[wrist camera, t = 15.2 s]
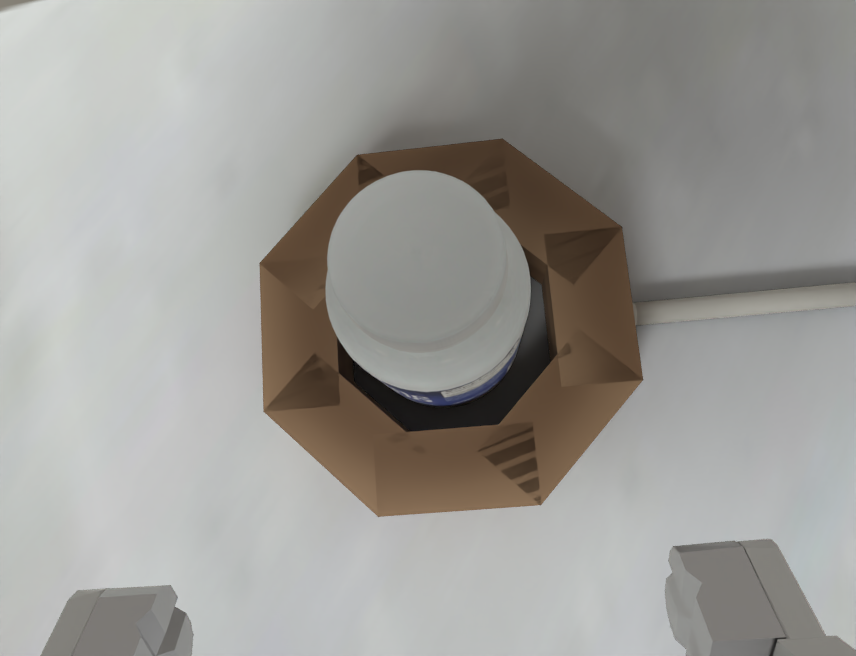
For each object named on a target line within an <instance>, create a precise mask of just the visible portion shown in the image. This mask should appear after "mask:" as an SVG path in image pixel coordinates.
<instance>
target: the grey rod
mask: <svg viewBox="0 0 856 656" xmlns="http://www.w3.org/2000/svg"><path fill="white" fill-rule="evenodd" d="M632 304H633V311H634V318H635V325H636V326H637V325H648V324H659V323H671V322H682V321H693V320H704V319H715V318H727V317H738V316H749V315H760V314H771V313H783V312H794V311H805V310H816V309H827V308H838V307H850V306H856V282H852V283H842V284H831V285H820V286H809V287H798V288H787V289H776V290H765V291H754V292H744V293H733V294H722V295H711V296H700V297H689V298H678V299H667V300H657V301H646V302H635V303H632Z"/></svg>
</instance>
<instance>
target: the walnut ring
mask: <svg viewBox="0 0 856 656" xmlns="http://www.w3.org/2000/svg"><path fill="white" fill-rule="evenodd" d="M412 170H427V171H436V172H439V173H443V174H446V175H450V176H453V177H455V178H457V179H459V180H461V181H463V182H465V183H467V184H468V185H470V186H471V187H472V188H474V189H475V190H476V191H477V192H478V193H479V194H480V195H481V196H482V197H483V198H484V199H485V200H486V201H487V202H488V204H489V205H490V206H491V207H492V209H493V210H494V212H495V213H496V214H497V215H498V216H499V217H500V218H502V219H503V221H504V222H505V223H506V224H507V225H508V226H509V227H510V229H511V230H512V232H513V233H514V235H515V236H516V238H517V239H518V241H519V243H520V245H521V247H522V249H523V251H524V254H525V257H526V260H527V263H528V267H529V272H530V276H531V277H532V278H534V279H535V280H536V281H537V282H539V283H540V284H541V285H542V292H543V301H544V310H545V319H546V328H547V337H548V346H549V355H550V364H549V365H548V366H547V367H546V368H545V370H544V371H543V372H542V373H541V374H540V376H539V377H538V378H537V379H536V380H535V382H534V383H533V384H532V385H531V386H530V388H529V389H528V390H527V391H526V392H525V394H524V395H523V396H522V397H521V398H520V400H519V401H518V402H517V403H516V404H515V406H514V407H513V408H512V409H511V410H510V412H509V413H508V414H507V415H506V416H505V418H504V419H503V420H502V421H501V422H500V424H499V425H487V426H474V427H462V428H449V429H437V430H424V431H412V432H411V431H410V430H408V429H407V428H406V427H405V426H404V425H403V424H402V423H400V422H399V421H398V420H397V419H396V418H395V417H394V416H392V415H391V414H390V413H389V412H388V411H387V410H386V409H384V408H383V407H382V406H381V405H380V404H379V403H378V402H376V401H375V400H374V399H373V398H372V397H371V396H370V395H368V394H367V393H366V392H365V391H364V390H363V389H362V388H360V387H359V386H358V385H357V384H356V383H355V382H354V376H353V359H352V358H351V357H350V356H349V354H348V353H347V351H346V350H345V348H344V347H343V345H342V344H341V342H340V341H339V339H338V337H337V336H336V333H335V331H334V329H333V327H332V324H331V321H330V318H329V314H328V310H327V305H326V290H325V287H326V277H327V271H328V267H327V254H328V245H329V241H330V237H331V233H332V230H333V228H334V226H335V223H336V221H337V219H338V217H339V216H340V214H341V212H342V211H343V210H344V208H345V207H346V206H347V204H348V203H349V202H350V201H351V200H352V199H353V198H354V197H355V196H356V195H357V194H358V193H359V192H360V191H362V190H363V189H364V188H366V187H367V186H369V185H370V184H372V183H374V182H375V181H377V180H379V179H382V178H384V177H386V176H389V175H392V174H395V173H399V172H404V171H412ZM259 264H260V293H261V331H262V368H263V406H264V412H265V413H266V414H267V415H268V416H269V417H270V418H271V419H272V420H273V421H275V422H276V423H277V424H278V425H279V426H280V427H281V428H282V429H283V430H284V431H285V432H287V433H288V434H289V435H290V436H291V437H292V438H293V439H294V440H295V441H296V442H297V443H299V444H300V445H301V446H302V447H303V448H304V449H305V450H306V451H307V452H308V453H309V454H310V455H312V456H313V457H314V458H315V459H316V460H317V461H318V462H319V463H320V464H321V465H322V466H324V467H325V468H326V469H327V470H328V471H329V472H330V473H331V474H332V475H333V476H334V477H336V478H337V479H338V480H339V481H340V482H341V483H342V484H343V485H344V486H345V487H346V488H348V489H349V490H350V491H351V492H352V493H353V494H354V495H355V496H356V497H357V498H358V499H359V500H361V501H362V502H363V503H364V504H365V505H366V506H367V507H368V508H369V509H370V510H371V511H373V512H374V513H375V514H376V515H377V516H378V517H380V516H394V515H408V514H422V513H436V512H450V511H464V510H478V509H492V508H506V507H520V506H534V505H541V504H542V503H543V502H544V501H545V499H546V498H547V497H548V496H549V494H550V493H551V492H552V491H553V490H554V488H555V487H556V486H557V485H558V483H559V482H560V481H561V480H562V479H563V477H564V476H565V475H566V474H567V472H568V471H569V470H570V469H571V467H572V466H573V465H574V464H575V463H576V461H577V460H578V459H579V458H580V456H581V455H582V454H583V453H584V452H585V450H586V449H587V448H588V447H589V445H590V444H591V443H592V442H593V440H594V439H595V438H596V437H597V436H598V434H599V433H600V432H601V431H602V429H603V428H604V427H605V426H606V425H607V423H608V422H609V421H610V420H611V418H612V417H613V416H614V415H615V414H616V412H617V411H618V410H619V409H620V407H621V406H622V405H623V404H624V402H625V401H626V400H627V399H628V398H629V396H630V395H631V394H632V393H633V391H634V390H635V389H636V388H637V387H638V385H639V384H640V383H641V382H642V380H643V376H642V369H641V361H640V354H639V347H638V340H637V333H636V325H635V318H634V311H633V304H632V297H631V289H630V282H629V275H628V268H627V260H626V253H625V246H624V239H623V232H622V227H621V226H620V225H619V224H617V223H616V222H615V221H613V220H612V219H610V218H609V217H608V216H606V215H605V214H604V213H602V212H601V211H600V210H598V209H597V208H596V207H594V206H593V205H592V204H590V203H589V202H587V201H586V200H585V199H583V198H582V197H581V196H579V195H578V194H577V193H575V192H574V191H573V190H571V189H570V188H569V187H567V186H566V185H564V184H563V183H562V182H560V181H559V180H558V179H556V178H555V177H554V176H552V175H551V174H550V173H548V172H547V171H545V170H544V169H543V168H541V167H540V166H539V165H537V164H536V163H535V162H533V161H532V160H531V159H529V158H528V157H527V156H525V155H524V154H522V153H521V152H520V151H518V150H517V149H516V148H514V147H513V146H512V145H510V144H509V143H508V142H506V141H505V140H504V139H496V140H487V141H478V142H469V143H460V144H451V145H442V146H433V147H424V148H415V149H406V150H397V151H388V152H378V153H369V154H360V155H357V156H356V157H355V158H354V159H353V160H352V161H351V162H350V163H349V164H348V166H347V167H346V168H345V169H344V170H343V171H342V172H341V173H340V174H339V176H338V177H337V178H336V179H335V180H334V181H333V182H332V183H331V184H330V186H329V187H328V188H327V189H326V190H325V191H324V192H323V193H322V194H321V196H320V197H319V198H318V199H317V200H316V201H315V202H314V203H313V204H312V206H311V207H310V208H309V209H308V210H307V211H306V212H305V213H304V214H303V216H302V217H301V218H300V219H299V220H298V221H297V222H296V223H295V224H294V226H293V227H292V228H291V229H290V230H289V231H288V232H287V233H286V234H285V236H284V237H283V238H282V239H281V240H280V241H279V242H278V243H277V244H276V246H275V247H274V248H273V249H272V250H271V251H270V252H269V253H268V254H267V256H266V257H265V258H264V259H263V260H262V261H261V262H260V263H259Z"/></svg>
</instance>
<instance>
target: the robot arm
mask: <svg viewBox="0 0 856 656" xmlns="http://www.w3.org/2000/svg"><path fill="white" fill-rule="evenodd" d="M668 561H669V564H670V567H671V570H672V574H671V575H669V576H668V577H667V578H666V584H665V599H666V609H667V614H668V618H669V622H670V626H671V629H672V632H673V635H674V638H675V640H676V641H678V642H679V643H680V644H681V645H682V646H683V647H684V648H685V649H687V650H686V656H856V650H855V649H854V648H852V647H851V646H850V645H848V644H847V643H846V642H844V641H843V640H842V639H840V638H839V637H838V636H826V634H825V632H824V631H823V629H822V627H821V625H820V623H819V621H818V619H817V618H816V616H815V614H814V612H813V610H812V608H811V606H810V605H809V603H808V601H807V599H806V597H805V595H804V593H803V591H802V590H801V588H800V586H799V584H798V582H797V580H796V578H795V577H794V575H793V573H792V571H791V569H790V567H789V565H788V563H787V562H786V560H785V558H784V556H783V554H782V552H781V550H780V549H779V547H778V545H777V544H776V543H775V542H774V541H773V540H772V539H759V540H749V541H739V542H736V541H725V542H714V543H703V544H692V545H681V546H673V547H672V548H671V550H670V553H669V560H668ZM177 598H178V596H177V595H176V593H175V592H174V590H173V588H172V587H171V585H162V586H145V587H127V588H106V589H92V590H78V591H77V592H76V593H75V594H74V595H73V596H72V597H71V598H70V599H69V600H68V601H67V603H66V605H65V607H64V609H63V611H62V613H61V615H60V617H59V619H58V621H57V623H56V625H55V627H54V629H53V631H52V633H51V635H50V637H49V639H48V641H47V643H46V645H45V647H44V649H43V651H42V654H41V656H191V655H192V646H193V631H192V626H191V622H190V620H189V618H188V616H187V614H186V613H185V612H183V611H182V610H180V609H178V608H176V607H175V604H176V601H177Z"/></svg>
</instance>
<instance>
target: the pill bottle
mask: <svg viewBox="0 0 856 656" xmlns="http://www.w3.org/2000/svg"><path fill="white" fill-rule="evenodd" d="M327 267H328V271H327V277H326V287H325V290H326V305H327V310H328V314H329V318H330V321H331V324H332V327H333V329H334V331H335V333H336V336H337V337H338V339H339V341H340V342H341V344H342V345H343V347H344V348H345V350H346V351H347V353H348V354H349V356H350V357H351V358H352V359H353V360H354V361H355V362H356V363H357V364H358V365H359V366H361V367H362V368H363V369H364V370H365V371H367V372H368V373H369V374H371V375H372V376H374V377H375V378H377V379H378V380H380V381H381V382H382V383H384V384H385V385H386V386H388V387H389V388H391V389H392V390H394V391H395V392H397V393H398V394H400V395H401V396H403V397H405V398H407V399H409V400H411V401H413V402H416V403H418V404H421V405H425V406H430V407H441V408H447V407H455V406H460V405H465V404H468V403H470V402H473V401H475V400H477V399H479V398H481V397H483V396H484V395H486V394H487V393H488V392H490V391H491V390H492V389H494V388H495V387H496V386H497V385H498V384H499V383H500V382H501V380H502V379H503V378H504V376H505V375H506V374H507V372H508V371H509V369H510V367H511V365H512V363H513V361H514V359H515V357H516V355H517V351H518V348H519V344H520V340H521V337H522V334H523V331H524V327H525V323H526V320H527V317H528V313H529V308H530V298H531V280H530V272H529V267H528V263H527V260H526V257H525V254H524V251H523V249H522V247H521V245H520V243H519V241H518V239H517V238H516V236H515V235H514V233H513V232H512V230H511V229H510V227H509V226H508V225H507V224H506V223H505V222H504V221H503V219H502V218H500V217H499V216H498V215H497V214H496V213H495V212H494V210H493V209H492V207H491V206H490V205H489V204H488V202H487V201H486V200H485V199H484V198H483V197H482V196H481V195H480V194H479V193H478V192H477V191H476V190H475V189H474V188H472V187H471V186H470V185H468V184H467V183H465V182H463V181H461V180H459V179H457V178H455V177H453V176H450V175H446V174H443V173H439V172H436V171H427V170H412V171H404V172H399V173H395V174H392V175H389V176H386V177H384V178H382V179H379V180H377V181H375V182H374V183H372V184H370V185H369V186H367V187H366V188H364V189H363V190H362V191H360V192H359V193H358V194H357V195H356V196H355V197H354V198H353V199H352V200H351V201H350V202H349V203H348V204H347V206H346V207H345V208H344V210H343V211H342V212H341V214H340V216H339V217H338V219H337V221H336V223H335V226H334V228H333V230H332V233H331V237H330V241H329V245H328V254H327Z"/></svg>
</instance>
